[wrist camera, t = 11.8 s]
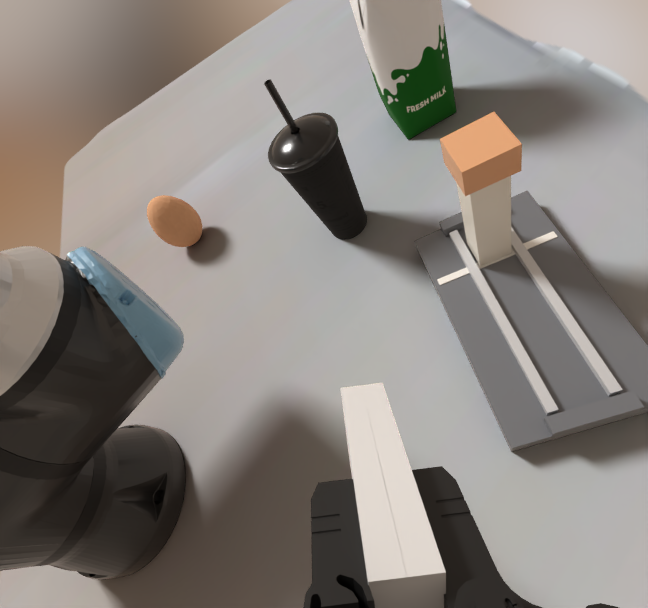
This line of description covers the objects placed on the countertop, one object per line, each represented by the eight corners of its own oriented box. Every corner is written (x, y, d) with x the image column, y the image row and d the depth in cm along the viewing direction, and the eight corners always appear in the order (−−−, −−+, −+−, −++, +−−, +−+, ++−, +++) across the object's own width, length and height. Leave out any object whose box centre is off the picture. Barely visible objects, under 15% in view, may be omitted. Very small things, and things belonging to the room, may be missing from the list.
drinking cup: (324, 206, 52) (240, 70, 36) (378, 195, 49) (312, 39, 33) (318, 253, 49) (222, 124, 33) (376, 243, 46) (301, 96, 29)
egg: (180, 231, 63) (137, 194, 56) (213, 216, 62) (173, 176, 54) (177, 262, 60) (130, 227, 53) (211, 247, 58) (168, 209, 51)
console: (677, 403, 28) (693, 392, 25) (511, 451, 30) (511, 445, 28) (526, 203, 40) (527, 182, 37) (418, 251, 43) (411, 234, 40)
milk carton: (436, 81, 54) (403, -100, 38) (467, 112, 49) (444, -82, 33) (380, 115, 56) (327, -46, 40) (405, 148, 51) (354, -21, 35)
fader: (519, 254, 35) (521, 144, 25) (477, 272, 36) (461, 172, 26) (499, 225, 37) (494, 111, 27) (460, 242, 38) (439, 139, 28)
